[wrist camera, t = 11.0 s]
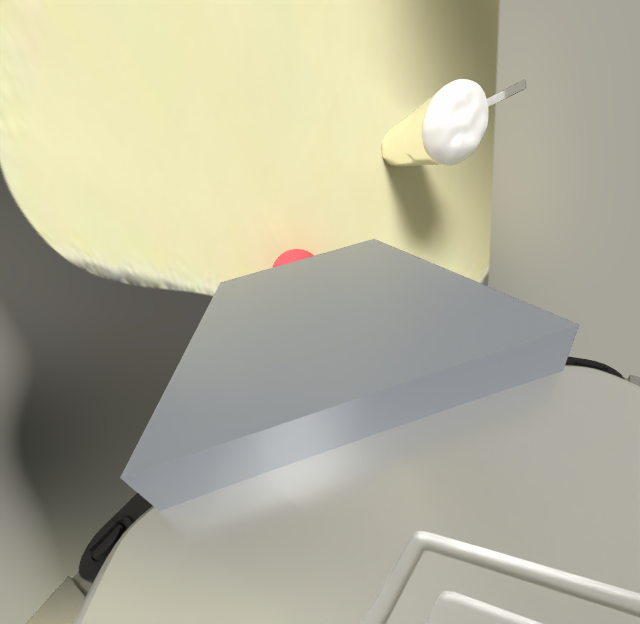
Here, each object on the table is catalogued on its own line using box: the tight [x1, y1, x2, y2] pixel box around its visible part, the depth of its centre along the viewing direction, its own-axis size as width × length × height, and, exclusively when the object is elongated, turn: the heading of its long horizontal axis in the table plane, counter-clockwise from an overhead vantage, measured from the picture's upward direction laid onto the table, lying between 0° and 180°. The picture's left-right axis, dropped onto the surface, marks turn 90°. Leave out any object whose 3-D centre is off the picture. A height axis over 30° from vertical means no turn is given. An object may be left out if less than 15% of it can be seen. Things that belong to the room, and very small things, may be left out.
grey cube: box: [121, 239, 579, 511], centre depth 9 cm, size 8×8×9 cm
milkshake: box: [381, 79, 526, 166], centre depth 18 cm, size 4×5×10 cm
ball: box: [273, 249, 314, 268], centre depth 24 cm, size 5×5×5 cm
